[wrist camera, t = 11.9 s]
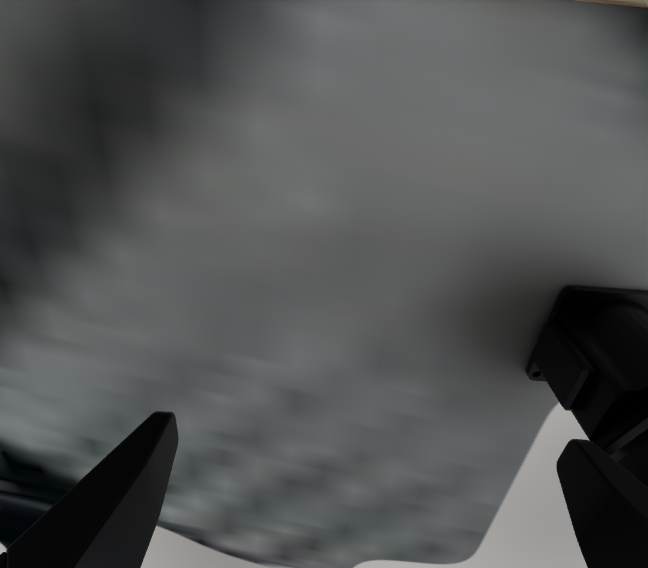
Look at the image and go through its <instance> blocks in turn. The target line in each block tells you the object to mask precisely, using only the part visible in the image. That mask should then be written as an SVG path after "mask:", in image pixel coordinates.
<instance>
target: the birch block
mask: <svg viewBox="0 0 648 568" xmlns="http://www.w3.org/2000/svg"><path fill="white" fill-rule="evenodd" d="M576 1H586V2H596V3H606V4H616V5H626V6H636V7H645V8H648V0H576Z"/></svg>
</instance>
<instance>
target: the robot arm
mask: <svg viewBox="0 0 648 568" xmlns="http://www.w3.org/2000/svg"><path fill="white" fill-rule="evenodd" d="M571 294H574V295H573V296H572V297H569V296H570V295H571ZM568 297H569V298H568ZM531 356H532V357H531V359H530V361H529V363H528V366H527V368H526V374H527V375H528V377H529V379H531V380H536V381H547V382H548V384H549V386H550V387H551V389H552V391H553V392H554V394H555V396H556V397H557V399H558V400H559V402H560V404H561V405H562V407H563V408H564V409H565V410H569V411H572V413H573V415H574V416H575V418H576V419H577V421H578V423H579V424H580V426H581V427H582V429H583V430H584V432H585V434H586V435H587V437H588V438H589V440H590V441H588V440H580V439H572V440H570V441H569V442H568V444H567V445H566V447H565V448H564V450H563V452H562V454H561V455H560V457H559V459H558V461H557V473H558V477H559V479H560V483H561V487H562V490H563V494H564V497H565V501H566V504H567V508H568V511H569V514H570V518H571V521H572V525H573V528H574V531H575V535H576V538H577V541H578V543H579V546H580V549H581V552H582V554H583V557H584V559H585V562H586V564H587V567H588V568H648V292H644V291H631V290H618V289H606V288H593V287H580V286H568V287H566V288H564V289H563V290H562V291H561V293H560V294H559V297H558V299H557V301H556V303H555V306H554V308H553V310H552V312H551V314H550V317H549V319H548V321H547V322H546V324H545V326H544V328H543V330H542V332H541V335H540V337H539V339H538V341H537V344H536V346H535V348H534V350H533V352H532V355H531ZM536 371H537V372H536ZM534 372H535V373H534ZM177 446H178V431H177V424H176V418H175V414H174V413H173V412H164V411H156V412H154V413H153V414H151V415H150V416H149V417H148V418H147V419H146V420H145V421H144V422H143V423H142V424H141V425H140V426H138V427H137V428H136V429H135V430H134V431H133V432H132V433H131V434H130V435H129V436H128V437H127V438H126V439H124V440H123V441H122V442H121V443H120V444H119V445H118V446H117V447H116V448H115V449H114V450H113V451H112V452H110V453H109V454H108V455H107V456H106V457H105V458H104V459H103V460H102V461H101V462H100V463H99V464H98V465H96V466H95V467H94V468H93V469H92V470H91V471H90V472H89V473H88V474H87V475H86V476H85V477H84V478H82V479H81V480H80V481H79V482H78V483H77V484H76V485H75V486H74V487H73V488H72V489H71V490H70V491H68V492H67V493H66V494H65V495H64V496H63V497H62V498H61V499H60V500H59V501H58V502H57V503H56V504H55V505H53V506H52V507H51V508H50V509H49V510H48V511H47V512H46V513H45V514H44V515H43V516H42V517H41V518H39V519H38V520H37V521H36V522H35V523H34V524H33V525H32V526H31V527H30V528H29V529H28V530H27V531H25V532H24V533H23V534H22V535H21V536H20V537H19V538H18V539H17V540H16V541H15V542H14V543H13V544H11V545H10V546H9V547H8V548H7V553H6V552H3V553H2V554H1V555H0V568H140V567H141V565H142V562H143V559H144V556H145V554H146V551H147V549H148V546H149V543H150V540H151V538H152V535H153V532H154V530H155V527H156V524H157V521H158V518H159V515H160V512H161V508H162V504H163V501H164V497H165V493H166V489H167V485H168V481H169V477H170V473H171V469H172V465H173V462H174V458H175V454H176V450H177Z"/></svg>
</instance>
